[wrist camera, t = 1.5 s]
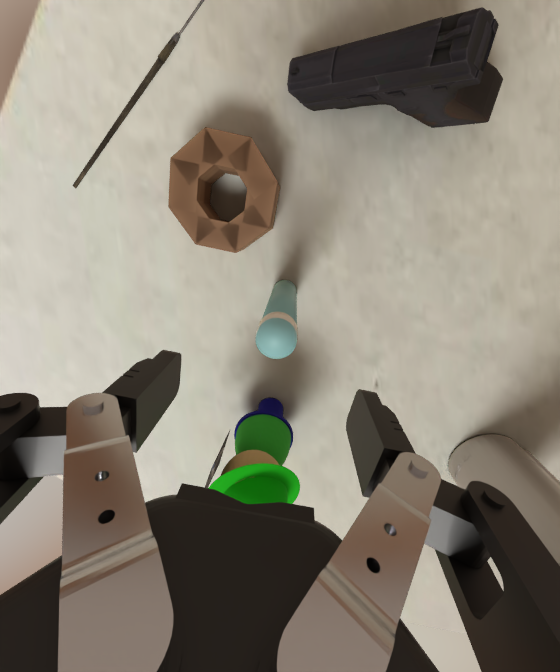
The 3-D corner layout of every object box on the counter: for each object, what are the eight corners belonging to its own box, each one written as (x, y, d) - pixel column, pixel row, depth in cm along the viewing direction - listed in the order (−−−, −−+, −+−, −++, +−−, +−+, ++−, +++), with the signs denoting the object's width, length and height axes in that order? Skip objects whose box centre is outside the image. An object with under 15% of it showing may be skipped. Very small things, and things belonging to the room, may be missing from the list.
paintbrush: (75, 185, 28) (71, 184, 28) (249, -71, 21) (247, -78, 20) (79, 189, 28) (75, 188, 28) (253, -64, 21) (252, -71, 20)
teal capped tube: (299, 282, 30) (301, 324, 17) (294, 305, 31) (292, 363, 18) (274, 277, 30) (258, 316, 17) (270, 300, 31) (251, 354, 18)
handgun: (488, 125, 22) (477, 59, 15) (338, 136, 30) (281, 95, 22) (503, 80, 21) (500, -18, 14) (344, 102, 29) (286, 47, 21)
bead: (285, 156, 26) (283, 144, 22) (268, 254, 29) (264, 258, 25) (190, 135, 26) (172, 119, 22) (183, 236, 29) (166, 238, 25)
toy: (248, 378, 35) (216, 479, 21) (310, 403, 36) (319, 517, 22) (224, 429, 38) (182, 546, 24) (281, 451, 39) (274, 577, 25)
